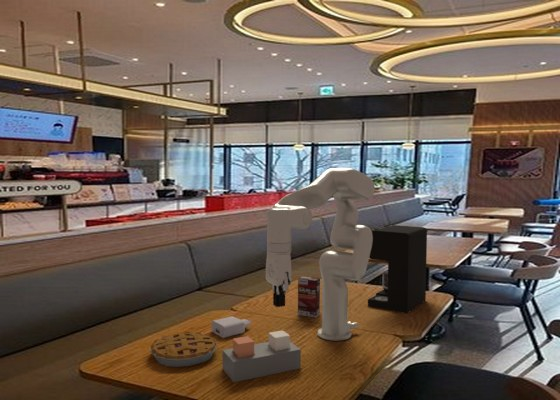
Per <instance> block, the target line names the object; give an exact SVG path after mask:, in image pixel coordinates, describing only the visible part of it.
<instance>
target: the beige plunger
mask: <svg viewBox="0 0 560 400" xmlns="http://www.w3.org/2000/svg"><path fill="white" fill-rule="evenodd" d="M268 342H269V347H271V348H272V349H273V350H274V351H278V350H284V349H289V348H290V342H291V336H290V334H289V333H287V332H286V331H284V330H276V331H271V332H268Z"/></svg>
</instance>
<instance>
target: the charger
mask: <svg viewBox="0 0 560 400" xmlns="http://www.w3.org/2000/svg"><path fill="white" fill-rule="evenodd" d="M252 322H253V321H252V320H250V319H246V318H243V319H240V318H237V317H236V316H232V315H231V316H228V317H224V318H219V319H214V320H212V321H211V323H210V324H211V332H212V333H213V332H214V333H213V334H216V335H217V336H219V337H221V338H222V339H225V338H230V337H234V336H237V335H240V334H241V335H242V334H244V333H245V331H246V329H245V327H249V326H250V325H251V323H252Z"/></svg>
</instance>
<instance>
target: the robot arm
mask: <svg viewBox="0 0 560 400" xmlns="http://www.w3.org/2000/svg"><path fill="white" fill-rule="evenodd" d="M375 187H376V186H375V183H374V180H373V179H372V178H371V177H369V176H368V175H366V173H362V171H359V170H358V169H355V168H350V167H332V168H330V167H329V168H327V169H325V170H324V171H322V173H320V174H319V175H318V176H317V177H316V178H315V179H314V180H313V181H312V182H310V183H309V185H307V186H304V187H303V188H299V189H297V190H295V191H293V192H291V193H288V194H286V195H285V196H283V197H282V198H280V199H279V200H278V201H277V202H276V203H275V204H274V205H273V206H272V207H270V208H269V209H268V210H267V212H266V235H267V236H266V250H267V251H266V259H265V261H266V262H265V280H266V281H267V282H268V283H269V284H271V287H272V293H273V294H272V296H273V297H272V301H273V302H272V305H273V307H275V308H281V307H285V306H286V294H287V291H290V287H289V286H291V284H292V281H293V279H292V277H293V274H292V273H293V272H292V270H293V269H292V259H291V254H292V230H297V231H300V230H301V231H302V230H305V229H307V228H309V227H310V226H311V224H312V222H313V213H312V212H311V210H312V209H317V208H320V207H322V206H324V205H325V204H326V203H327V202H329V200H330V199H331V198H332V197H333V200H334V203H335V206H336V213H335V217H334V220H333V225H332V228H331V233H330V238H329V240H330V241H329V242H330V245H332V247H333V248H336V249H341V250H348V251H341V250H326V251H325V252H323V253H322V254H321V255H320V257H319V261H318V262H319V264H318V265H319V271H320V276H321V278H320V279H321V328H319V329H318V330H317V335H318V337H319V338H321V339H323V340H327V341H332V342H333V341H345V340H349V339H351V337H352V335H353V334H352V333H353V332H352V331H351V330H352V329H355V328H359V322H351V321H348V316H349V315H348V313H349V312H348V308H349V307H348V306H349V305H348V303H349V301H348V296H349V291H348V290H349V289H348V285H347V282H346V280H353V281H360V280H362V279H363V278H364V277H365V275H366V274H367V273H366V272H367V269H368V266H369V265H368V264H369V260H370V258H369V257H370V252H371V248H372V243H373V235H372V231H371V230H372V229H371V227H368V226H367V225H363V224H358V221H359V214H360V213H359V211H358V210H359V209H358V208H357V206H356V205H355V202H354V201H353V200H361V201H367V200H369V199H371V198H372V197H373V196H374V194H375V190H376V188H375ZM349 250H350V251H353V252H349ZM345 279H346V280H345Z"/></svg>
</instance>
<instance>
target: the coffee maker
mask: <svg viewBox="0 0 560 400" xmlns="http://www.w3.org/2000/svg"><path fill="white" fill-rule="evenodd" d="M370 230H371V231H372V235H373V243H372V248H371V252H370V257H369V260H375V261H383V262H387V269H386V270H385V267H384V268H383V269H382V270H383V272H382V283H381V287H382V290H380V291H378V292H376V293H375V295H373V296H372V297H369V298H368V299H367V307H370V306H371V308H375V307H376V309H381V308H382V309H381V310H386V309H387V310H388V311H391V310H392V312H397V311H398V312H397V313H402V312H404V313H403V314H408V312H409V311H410V312H411V310H412V309H413V310H414V309H416V308H417V307H419V306H420V305H422V304H423V303H424V302H426V301H425V300H426V298H427V249H428V243H427V242H428V229H427V228H426V227H422V226H421V227H420V226H407V225H397V224H396V225H394V224H392V225H384V226H383V227H380V228H379V227H378V228H377V227H375V228H373V229H370ZM423 301H424V302H423ZM422 302H423V303H422ZM421 303H422V304H421ZM419 304H420V305H419ZM418 305H419V306H418ZM416 306H417V307H416ZM415 307H416V308H415ZM413 310H412V311H413ZM410 312H409V313H410Z"/></svg>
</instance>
